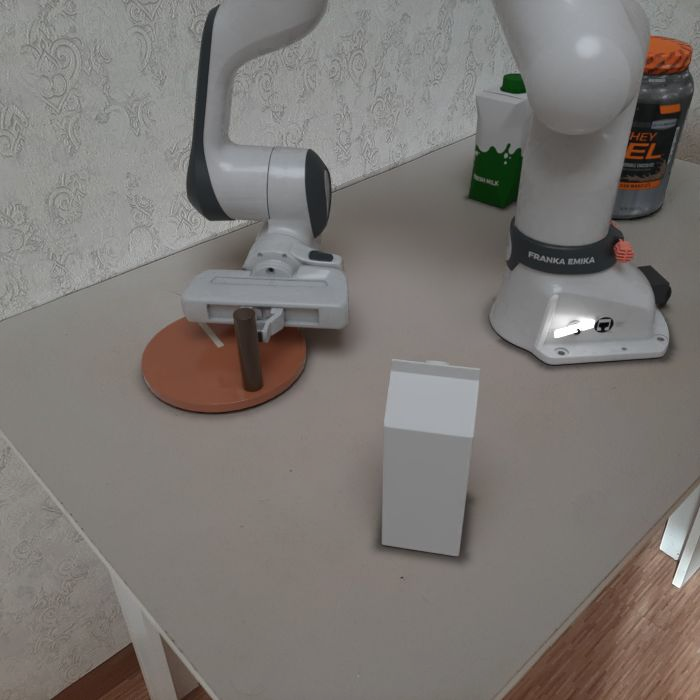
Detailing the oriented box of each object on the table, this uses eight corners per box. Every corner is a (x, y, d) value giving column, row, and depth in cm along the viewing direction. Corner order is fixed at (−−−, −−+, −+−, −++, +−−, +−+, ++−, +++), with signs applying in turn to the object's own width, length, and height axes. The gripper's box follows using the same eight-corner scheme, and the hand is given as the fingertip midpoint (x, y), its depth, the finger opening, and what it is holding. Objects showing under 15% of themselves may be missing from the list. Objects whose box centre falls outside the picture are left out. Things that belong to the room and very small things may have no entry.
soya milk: (530, 194, 126) (547, 78, 114) (504, 212, 121) (519, 92, 109) (488, 181, 131) (500, 68, 119) (460, 198, 126) (470, 81, 114)
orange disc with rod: (336, 373, 86) (333, 294, 79) (178, 436, 77) (160, 353, 71) (262, 298, 100) (254, 225, 93) (121, 345, 91) (101, 268, 84)
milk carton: (458, 558, 65) (478, 398, 53) (381, 546, 66) (384, 387, 55) (464, 499, 70) (483, 343, 59) (393, 489, 71) (397, 334, 60)
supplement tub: (555, 210, 121) (582, 49, 106) (580, 177, 132) (608, 27, 117) (652, 230, 115) (696, 63, 99) (670, 194, 126) (712, 37, 110)
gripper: (194, 250, 91) (160, 310, 80) (354, 256, 89) (342, 318, 78) (201, 292, 95) (169, 355, 84) (355, 299, 93) (343, 364, 82)
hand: (254, 337), depth 81 cm, fingers closed
